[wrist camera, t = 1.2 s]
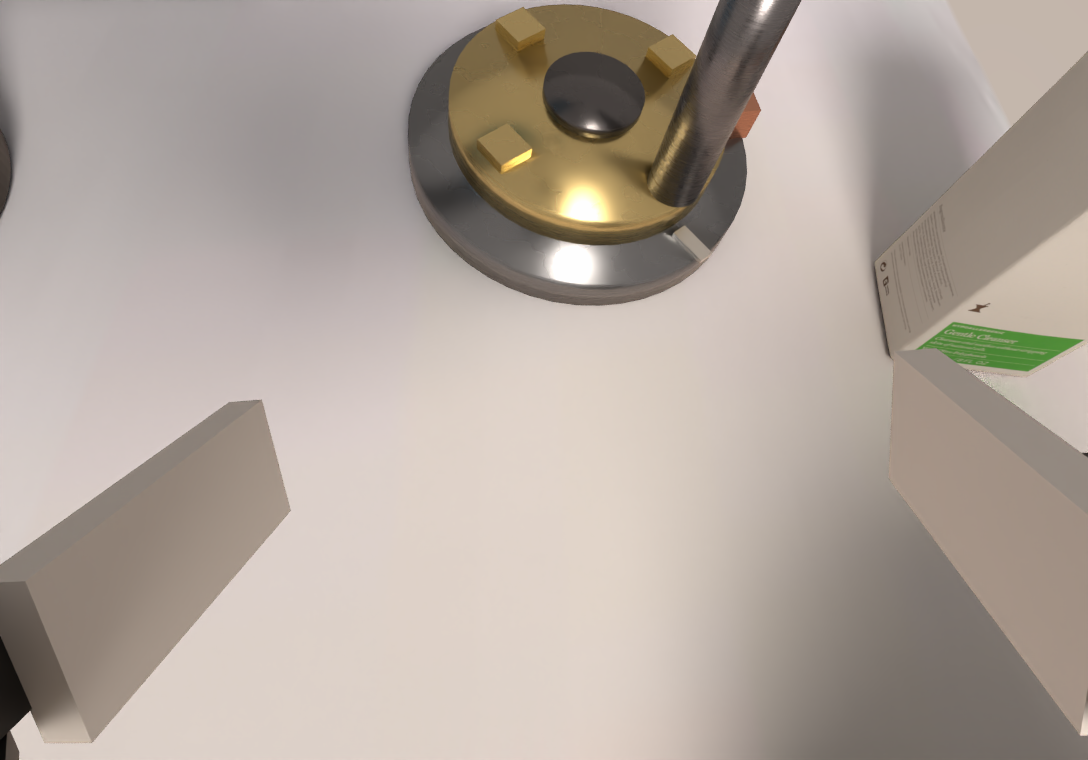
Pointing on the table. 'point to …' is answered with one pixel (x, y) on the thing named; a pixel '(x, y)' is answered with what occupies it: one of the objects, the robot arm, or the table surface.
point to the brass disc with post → (609, 163)
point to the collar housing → (544, 263)
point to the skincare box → (1002, 249)
